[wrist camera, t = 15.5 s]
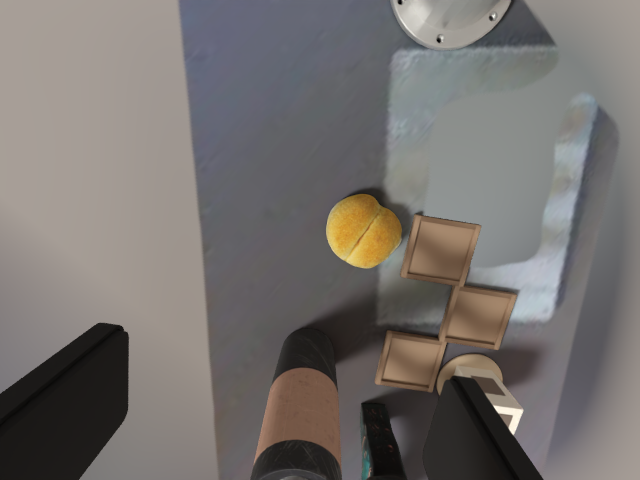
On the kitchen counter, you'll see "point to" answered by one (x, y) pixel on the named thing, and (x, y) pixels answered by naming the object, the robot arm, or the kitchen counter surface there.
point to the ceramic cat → (379, 445)
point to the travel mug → (301, 414)
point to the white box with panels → (495, 394)
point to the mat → (466, 361)
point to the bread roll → (362, 231)
